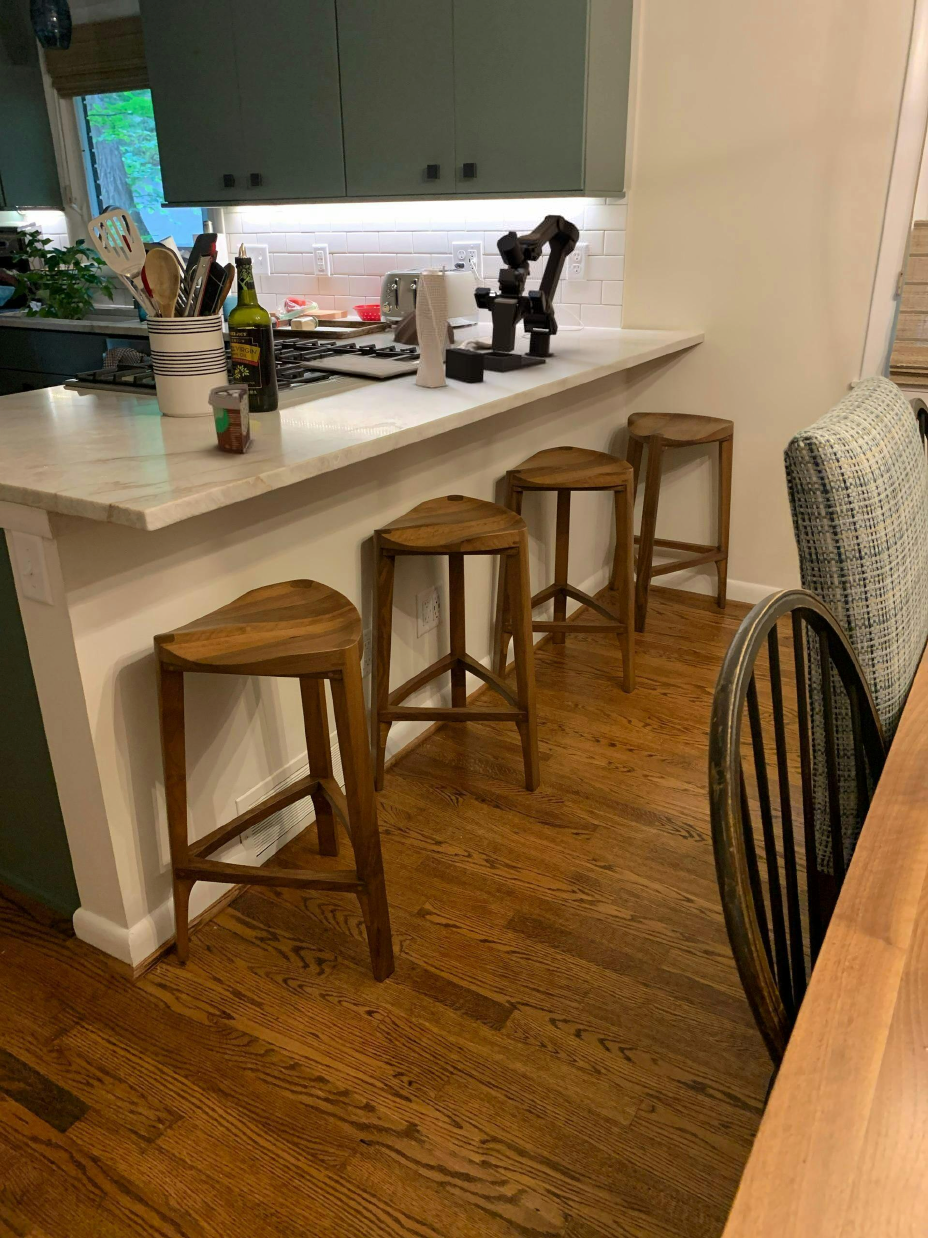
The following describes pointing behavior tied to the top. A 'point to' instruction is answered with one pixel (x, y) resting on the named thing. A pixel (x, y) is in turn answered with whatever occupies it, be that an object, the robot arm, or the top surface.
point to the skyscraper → (431, 327)
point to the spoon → (478, 342)
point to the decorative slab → (362, 365)
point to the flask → (445, 345)
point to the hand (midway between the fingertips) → (503, 325)
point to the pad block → (504, 325)
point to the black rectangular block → (464, 365)
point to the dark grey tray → (508, 361)
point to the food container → (231, 417)
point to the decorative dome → (413, 330)
